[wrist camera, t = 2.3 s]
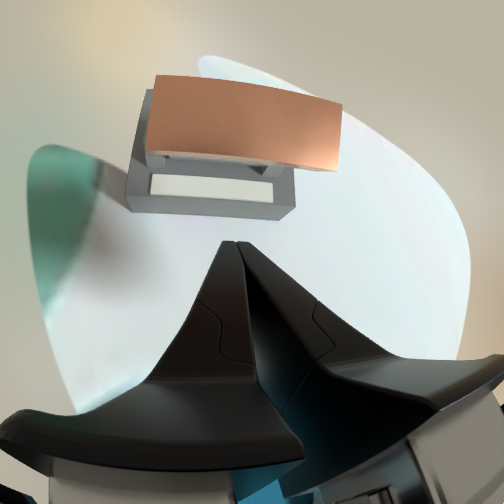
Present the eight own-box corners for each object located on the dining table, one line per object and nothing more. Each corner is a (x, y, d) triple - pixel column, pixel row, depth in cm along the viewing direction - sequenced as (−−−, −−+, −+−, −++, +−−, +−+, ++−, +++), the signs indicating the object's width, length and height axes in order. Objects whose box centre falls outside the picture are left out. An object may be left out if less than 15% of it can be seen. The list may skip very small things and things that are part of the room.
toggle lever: (261, 172, 17) (337, 171, 8) (165, 164, 15) (144, 150, 7) (265, 136, 16) (342, 104, 8) (170, 127, 15) (156, 75, 6)
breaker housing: (278, 220, 20) (318, 188, 14) (131, 212, 18) (114, 172, 12) (275, 126, 22) (304, 78, 16) (148, 114, 19) (145, 58, 13)
